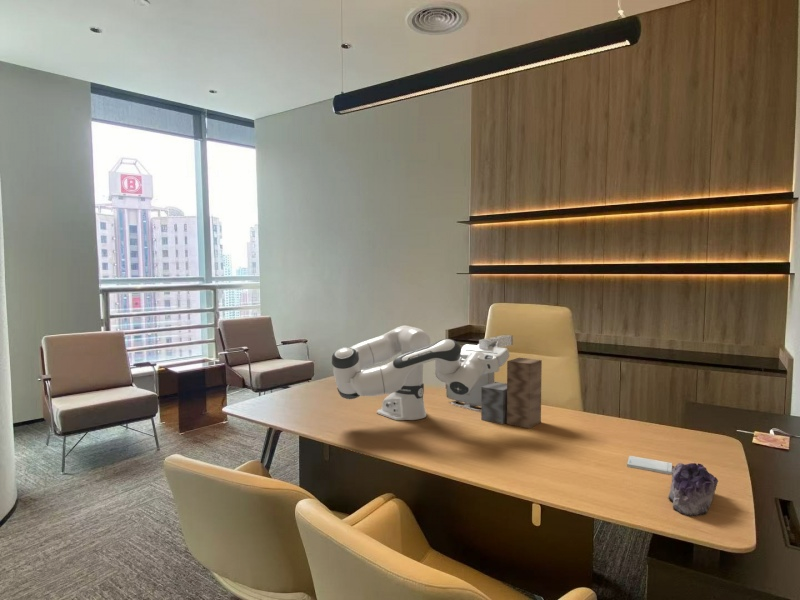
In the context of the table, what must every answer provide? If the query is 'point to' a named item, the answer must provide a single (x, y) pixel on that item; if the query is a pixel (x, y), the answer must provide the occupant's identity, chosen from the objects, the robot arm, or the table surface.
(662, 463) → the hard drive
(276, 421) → the table surface
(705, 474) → the geode
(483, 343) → the grey rectangular bar
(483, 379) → the network device
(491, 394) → the two-tier stand
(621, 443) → the table surface
